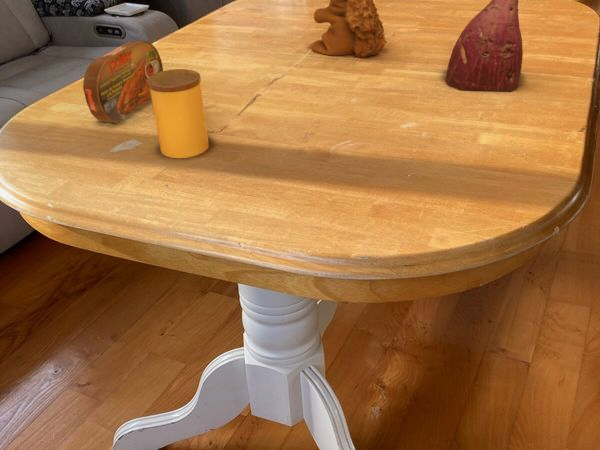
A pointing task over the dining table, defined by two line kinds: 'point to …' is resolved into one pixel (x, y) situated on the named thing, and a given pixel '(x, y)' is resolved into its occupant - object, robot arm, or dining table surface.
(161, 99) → the yellow canister
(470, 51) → the vegetable
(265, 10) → the dining table surface
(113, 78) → the tin
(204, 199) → the dining table surface
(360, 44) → the stuffed squirrel
